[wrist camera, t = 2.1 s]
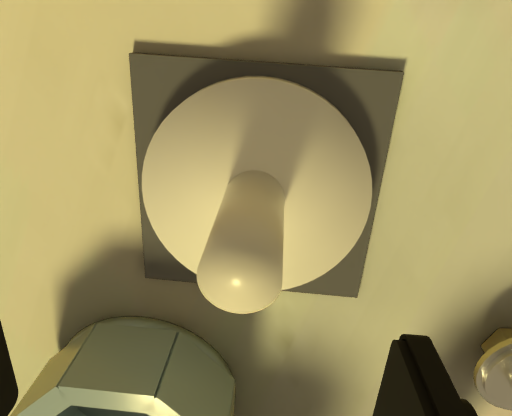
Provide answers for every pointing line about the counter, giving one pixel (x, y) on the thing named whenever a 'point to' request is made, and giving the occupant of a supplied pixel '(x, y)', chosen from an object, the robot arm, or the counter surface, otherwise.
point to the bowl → (132, 374)
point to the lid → (256, 188)
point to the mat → (311, 76)
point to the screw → (496, 369)
